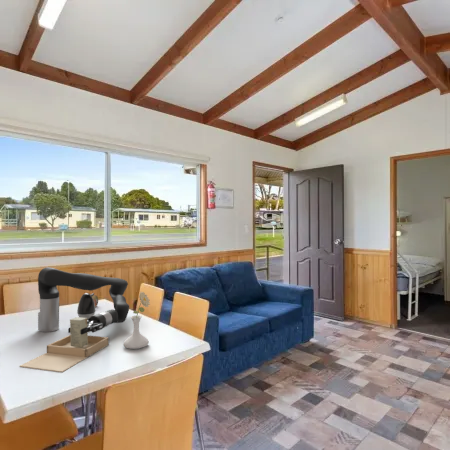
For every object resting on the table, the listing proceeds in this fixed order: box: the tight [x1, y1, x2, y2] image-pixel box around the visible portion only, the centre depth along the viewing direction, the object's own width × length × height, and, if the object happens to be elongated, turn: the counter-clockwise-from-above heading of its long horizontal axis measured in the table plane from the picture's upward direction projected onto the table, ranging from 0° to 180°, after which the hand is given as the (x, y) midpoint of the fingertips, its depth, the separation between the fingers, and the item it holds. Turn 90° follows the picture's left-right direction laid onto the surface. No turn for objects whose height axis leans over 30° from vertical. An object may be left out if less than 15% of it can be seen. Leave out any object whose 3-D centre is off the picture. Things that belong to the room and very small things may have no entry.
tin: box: [92, 294, 99, 308], centre depth 223 cm, size 15×3×8 cm, turn 168°
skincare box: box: [69, 316, 89, 347], centre depth 149 cm, size 6×4×12 cm
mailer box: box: [19, 334, 110, 373], centre depth 143 cm, size 20×30×4 cm, turn 166°
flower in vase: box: [122, 291, 151, 350], centre depth 153 cm, size 13×11×25 cm
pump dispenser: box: [76, 292, 97, 320], centre depth 199 cm, size 10×10×15 cm
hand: (75, 331), depth 147 cm, fingers closed on skincare box, 6 cm apart
